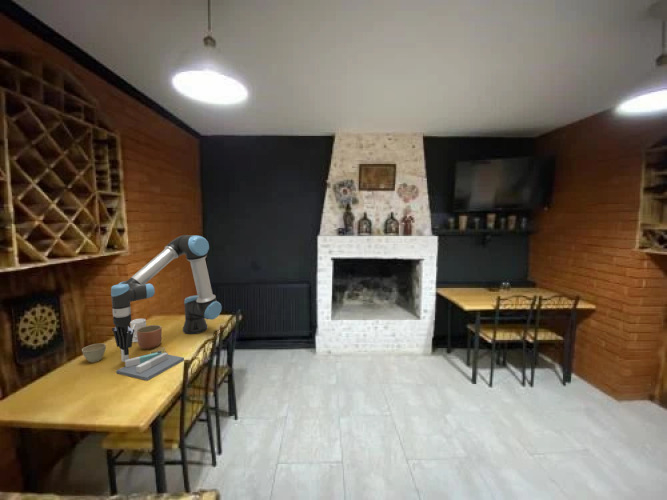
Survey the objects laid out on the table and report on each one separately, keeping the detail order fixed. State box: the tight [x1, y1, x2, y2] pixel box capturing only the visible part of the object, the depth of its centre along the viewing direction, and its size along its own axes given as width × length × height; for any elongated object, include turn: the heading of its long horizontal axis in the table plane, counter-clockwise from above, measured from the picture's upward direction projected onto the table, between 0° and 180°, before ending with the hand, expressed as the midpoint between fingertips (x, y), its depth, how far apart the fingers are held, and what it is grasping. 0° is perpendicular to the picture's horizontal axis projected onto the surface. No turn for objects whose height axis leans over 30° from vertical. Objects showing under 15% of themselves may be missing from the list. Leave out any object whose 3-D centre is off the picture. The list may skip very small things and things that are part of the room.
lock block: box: [150, 346, 166, 354], centre depth 171 cm, size 6×4×3 cm, turn 160°
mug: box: [130, 318, 147, 343], centre depth 193 cm, size 12×8×12 cm
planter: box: [137, 324, 163, 350], centre depth 184 cm, size 12×12×11 cm
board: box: [115, 351, 185, 382], centre depth 161 cm, size 24×20×5 cm
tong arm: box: [124, 352, 162, 367], centre depth 162 cm, size 16×2×3 cm, turn 128°
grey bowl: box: [81, 343, 107, 363], centre depth 167 cm, size 10×10×7 cm
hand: (125, 360), depth 161 cm, fingers closed
